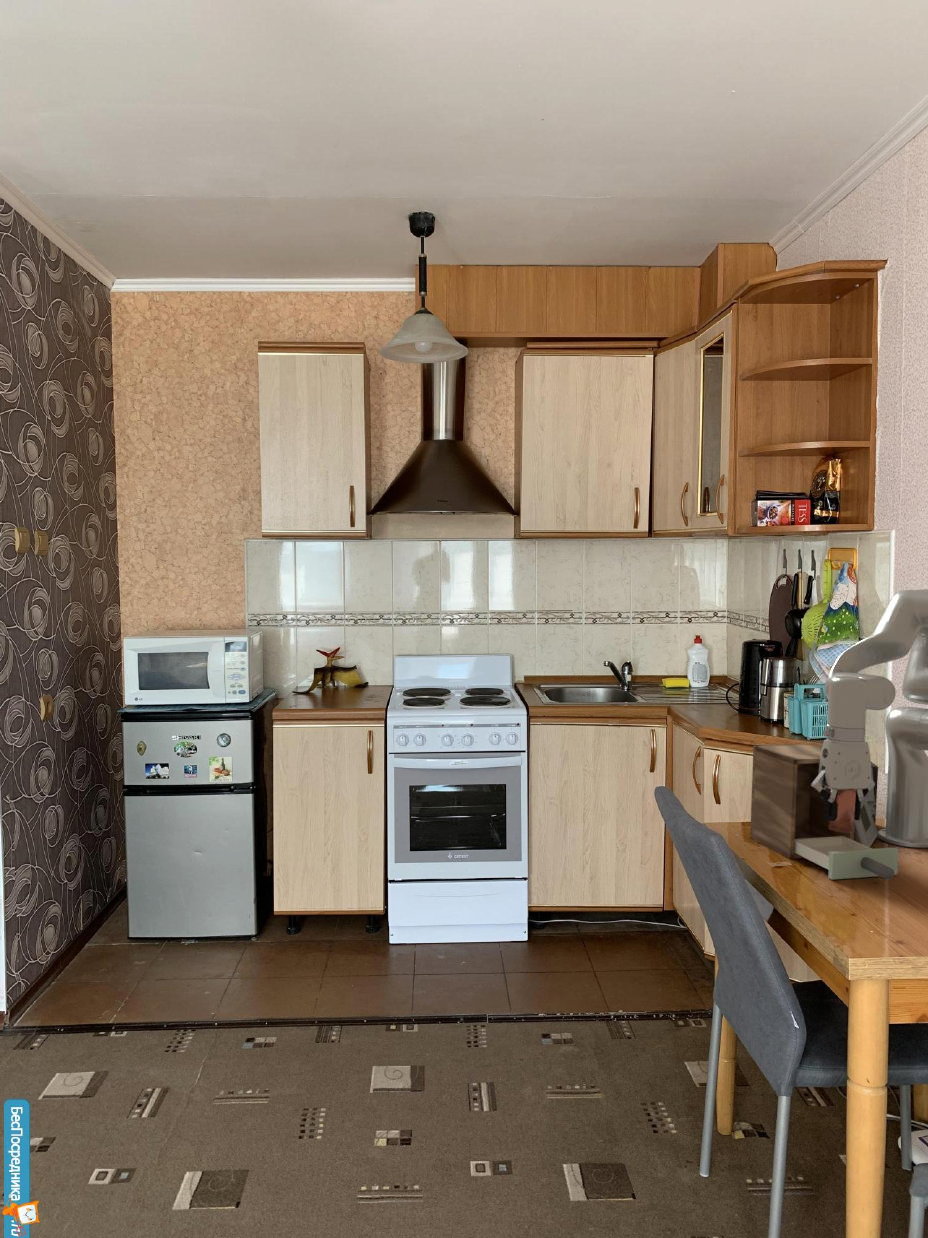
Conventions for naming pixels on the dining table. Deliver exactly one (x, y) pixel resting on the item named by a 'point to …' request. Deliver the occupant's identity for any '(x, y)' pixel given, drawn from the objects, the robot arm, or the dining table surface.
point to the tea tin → (844, 811)
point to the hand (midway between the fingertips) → (841, 818)
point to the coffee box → (873, 792)
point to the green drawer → (848, 857)
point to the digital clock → (865, 826)
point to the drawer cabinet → (787, 797)
